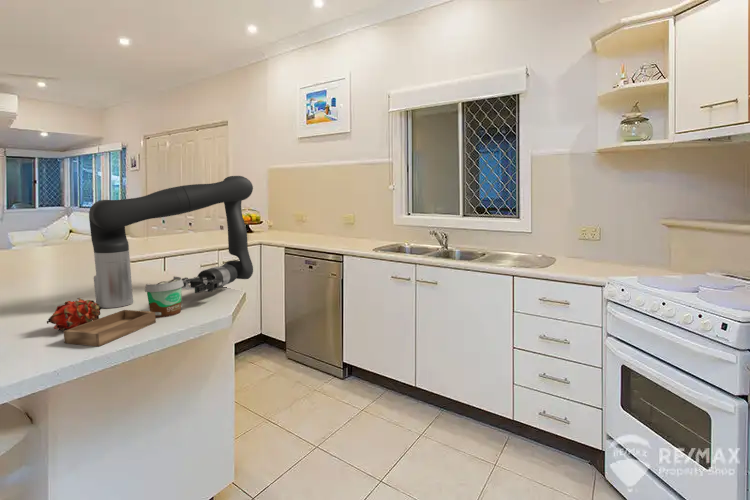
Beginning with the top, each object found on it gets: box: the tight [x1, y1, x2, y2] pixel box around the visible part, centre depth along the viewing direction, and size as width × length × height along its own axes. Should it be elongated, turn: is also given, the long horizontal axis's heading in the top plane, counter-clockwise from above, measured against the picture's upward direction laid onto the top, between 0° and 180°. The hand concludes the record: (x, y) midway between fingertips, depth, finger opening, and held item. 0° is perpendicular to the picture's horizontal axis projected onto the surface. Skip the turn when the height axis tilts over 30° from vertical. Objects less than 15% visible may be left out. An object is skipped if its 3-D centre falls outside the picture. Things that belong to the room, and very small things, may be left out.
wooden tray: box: [62, 309, 157, 347], centre depth 101 cm, size 10×18×3 cm, turn 169°
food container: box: [144, 275, 184, 319], centre depth 116 cm, size 12×6×10 cm, turn 168°
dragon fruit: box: [46, 297, 102, 332], centre depth 103 cm, size 8×8×12 cm
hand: (183, 289), depth 122 cm, fingers open, 8 cm apart
